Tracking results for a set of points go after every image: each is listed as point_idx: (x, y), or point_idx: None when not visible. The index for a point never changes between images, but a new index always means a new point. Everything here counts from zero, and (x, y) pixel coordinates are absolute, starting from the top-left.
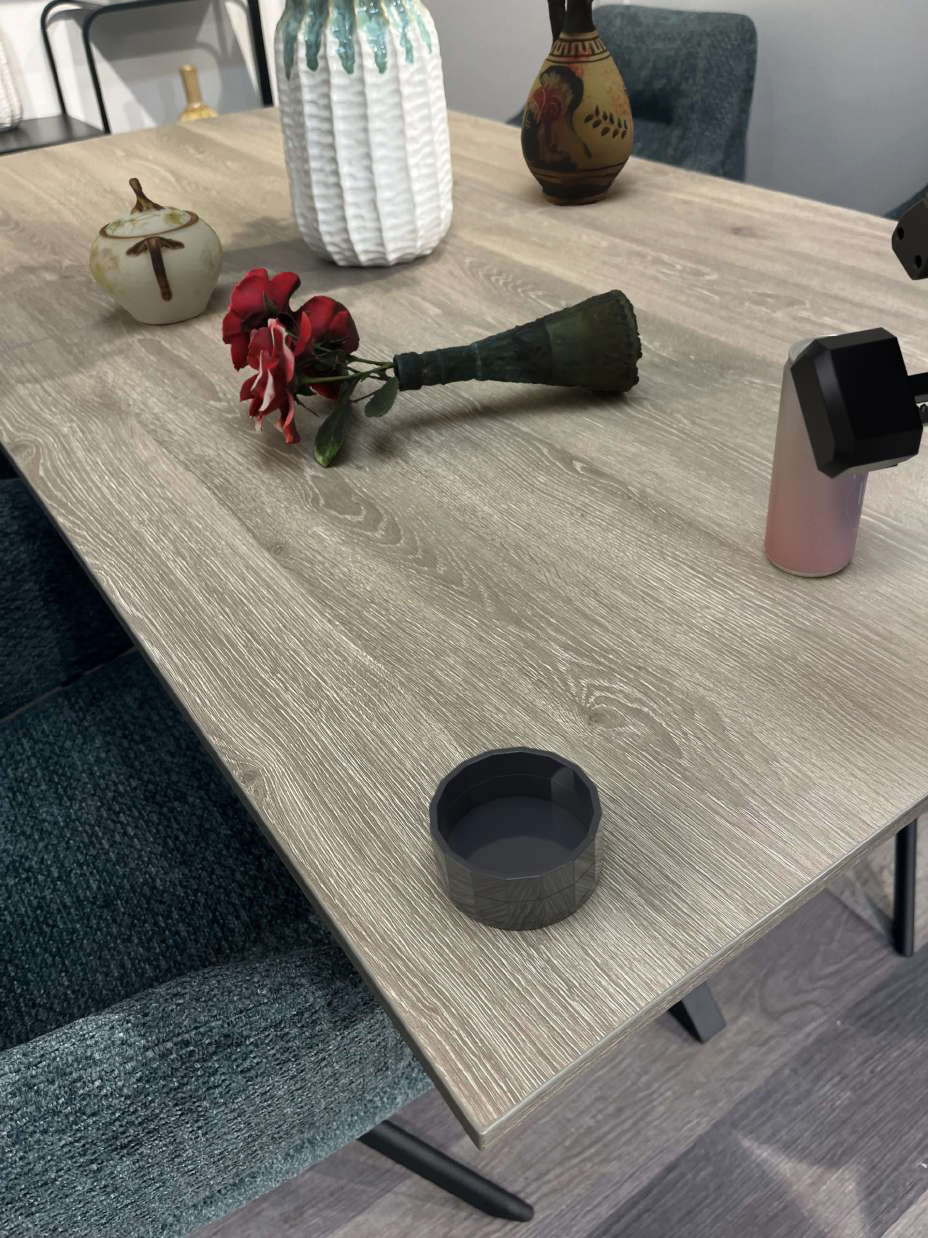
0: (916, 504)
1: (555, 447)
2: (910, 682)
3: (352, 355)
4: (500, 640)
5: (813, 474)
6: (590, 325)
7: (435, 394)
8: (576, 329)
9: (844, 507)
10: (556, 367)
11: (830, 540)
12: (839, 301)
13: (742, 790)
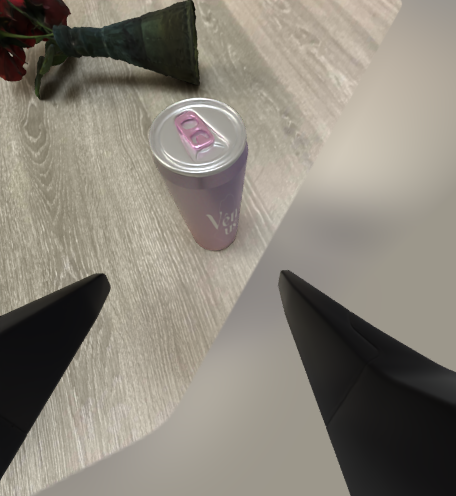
0: (287, 208)
1: (147, 115)
2: (210, 340)
3: (34, 19)
4: (46, 247)
5: (188, 221)
6: (165, 29)
7: (116, 61)
8: (157, 30)
9: (214, 237)
10: (150, 59)
11: (210, 244)
12: (336, 45)
13: (90, 392)
